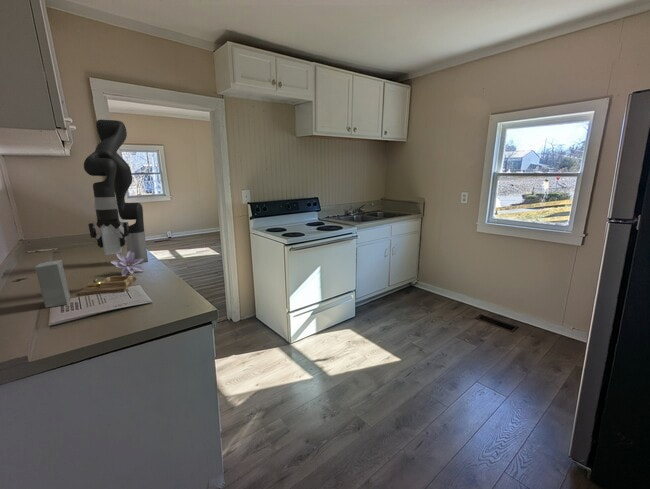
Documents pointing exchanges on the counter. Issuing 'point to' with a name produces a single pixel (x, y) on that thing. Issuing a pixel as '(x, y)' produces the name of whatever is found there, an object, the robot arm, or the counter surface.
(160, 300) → the counter surface
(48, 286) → the skincare box
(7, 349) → the counter surface
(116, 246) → the skincare box
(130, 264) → the water lily
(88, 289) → the carrier board
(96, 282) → the brass knob disc
